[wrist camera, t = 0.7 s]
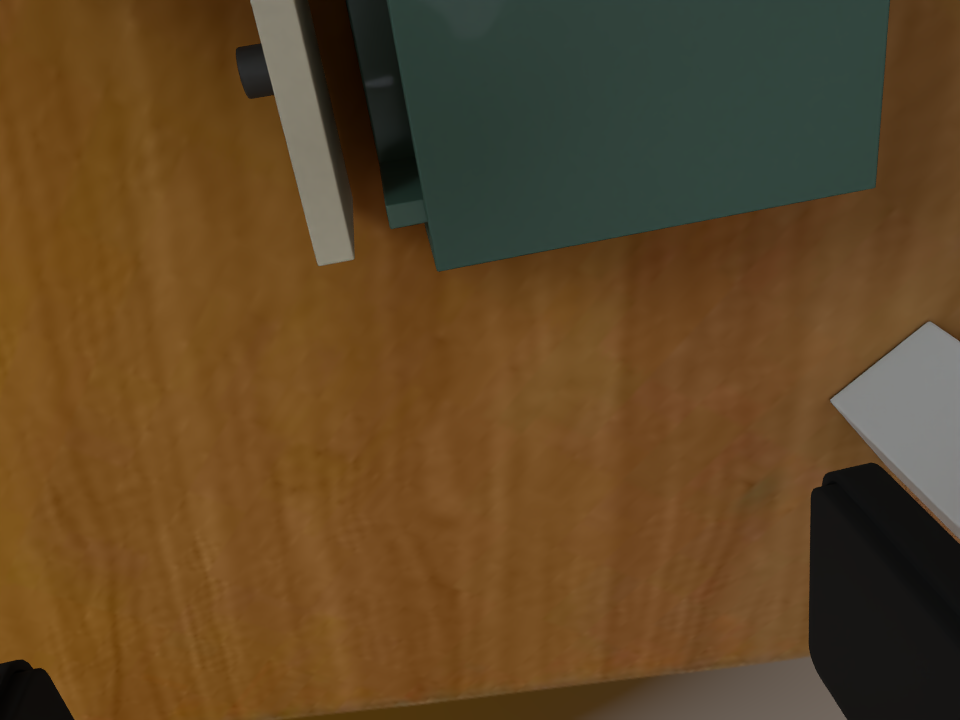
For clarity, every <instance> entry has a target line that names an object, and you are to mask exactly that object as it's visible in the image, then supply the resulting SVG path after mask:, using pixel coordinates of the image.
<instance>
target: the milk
mask: <svg viewBox="0 0 960 720" xmlns="http://www.w3.org/2000/svg"><path fill="white" fill-rule="evenodd" d="M830 401H831V403H832V404H833V405H834V406H835V407H836V409H837V410H838V411H839V412H840V413H841V414H842V416H843V417H844V418H845V419H846V420H847V421H848V422H849V424H850V425H851V426H852V427H853V428H854V429H855V430H856V432H857V433H858V434H859V435H860V436H861V437H862V438H863V440H864V441H865V442H866V443H867V444H868V445H869V446H870V448H871V449H872V450H873V451H874V452H875V453H876V454H877V456H878V457H879V458H880V459H881V460H882V461H883V462H884V464H885V465H886V466H887V467H888V468H889V469H890V470H891V471H892V472H893V473H894V474H895V475H896V476H897V477H898V478H899V479H900V480H901V481H902V482H903V483H904V484H905V485H906V486H907V487H908V488H909V489H910V490H911V491H912V492H913V493H914V494H915V495H916V496H917V497H918V498H919V499H920V500H921V501H922V502H923V503H924V504H925V505H926V506H927V507H928V508H929V509H930V510H931V511H932V512H933V513H934V514H935V515H936V516H937V517H938V518H939V519H940V520H941V521H942V522H943V523H944V524H945V525H946V526H947V527H948V528H949V529H950V530H951V531H952V532H953V533H954V534H955V535H956V536H957V537H958V538H959V539H960V341H958V340H957V339H956V338H954V337H953V336H951V335H950V334H948V333H947V332H945V331H944V330H942V329H941V328H939V327H938V326H936V325H935V324H933V323H932V322H927V323H926V324H924V325H923V326H922V327H921V328H919V329H918V330H917V331H916V332H914V333H913V334H912V335H911V336H909V337H908V338H907V339H906V340H904V341H903V342H902V343H900V344H899V345H898V346H897V347H895V348H894V349H893V350H892V351H890V352H889V353H888V354H887V355H885V356H884V357H883V358H882V359H880V360H879V361H878V362H877V363H875V364H874V365H873V366H872V367H870V368H869V369H868V370H867V371H865V372H864V373H863V374H862V375H860V376H859V377H858V378H857V379H855V380H854V381H853V382H852V383H850V384H849V385H848V386H847V387H845V388H844V389H843V390H842V391H840V392H839V393H838V394H837V395H835V396H834V397H833V398H832V399H831V400H830Z"/></svg>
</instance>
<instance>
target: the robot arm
mask: <svg viewBox="0 0 960 720" xmlns="http://www.w3.org/2000/svg"><path fill="white" fill-rule="evenodd" d="M809 650H810V655H811V658H812V661H813V664H814V666H815V669H816V671H817V673H818V674H819V676H820V678H821V679H822V681H823V683H824V684H825V686H826V687H827V689H828V690H829V692H830V693H831V695H832V696H833V698H834V699H835V701H836V703H837V704H838V706H839V707H840V709H841V711H842V712H843V714H844V715H845V717H846V718H847V720H960V544H959V543H958V542H957V541H956V540H955V539H954V538H953V537H952V536H951V535H950V534H949V533H948V532H947V531H946V530H945V529H944V528H943V527H942V526H941V525H940V524H939V523H938V522H937V521H936V520H935V519H934V518H933V517H932V516H930V515H929V514H928V513H927V512H926V511H925V510H924V509H923V508H922V507H921V506H920V505H919V504H918V503H917V502H916V501H915V500H914V499H913V498H912V497H911V496H910V495H909V494H908V493H907V492H906V491H905V490H904V489H903V488H902V487H901V486H900V485H899V484H898V483H897V482H896V481H895V480H894V479H893V478H892V477H891V476H890V475H889V474H888V473H887V472H886V471H885V470H884V469H883V468H882V467H880V466H879V465H878V464H875V463H867V464H863V465H859V466H854V467H850V468H846V469H841V470H837V471H833V472H829V473H827V474H825V476H824V478H823V482H822V487H817V488H815V489H813V491H812V493H811V522H810V591H809ZM0 720H74V718H73V716H72V715H71V713H70V711H69V709H68V708H67V706H66V704H65V702H64V701H63V699H62V697H61V696H60V694H59V692H58V690H57V689H56V687H55V685H54V683H53V682H52V680H51V678H50V676H49V675H48V673H47V672H46V671H45V670H43V669H42V668H36V669H33V668H32V667H31V665H30V664H29V663H28V662H26V661H24V660H15V661H10V662H6V663H2V664H0Z"/></svg>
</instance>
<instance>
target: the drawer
mask: <svg viewBox="0 0 960 720" xmlns="http://www.w3.org/2000/svg"><path fill="white" fill-rule="evenodd" d="M250 1H251V5H252V9H253V13H254V17H255V21H256V25H257V29H258V33H259V37H260V40H261V43H260V44H255V45H249V46H243V47H238V48H237V49H236V60H237V66H238V71H239V75H240V79H241V82H242V85H243V88H244V91H245V93H246V95H247V96H248V98H250V99H253V98H259V97H265V96H270V95H275V99H276V103H277V107H278V111H279V115H280V119H281V123H282V127H283V131H284V135H285V139H286V143H287V146H288V150H289V154H290V158H291V162H292V166H293V170H294V174H295V178H296V182H297V186H298V190H299V194H300V198H301V201H302V205H303V209H304V213H305V217H306V221H307V225H308V229H309V233H310V237H311V241H312V245H313V249H314V252H315V256H316V260H317V264H318V266H322V265H328V264H333V263H338V262H343V261H349V260H353V259H354V258H355V256H354V226H353V198H352V193H351V189H350V184H349V180H348V176H347V171H346V167H345V162H344V158H343V153H342V149H341V144H340V140H339V135H338V131H337V127H336V122H335V118H334V113H333V109H332V104H331V100H330V95H329V91H328V87H327V82H326V78H325V73H324V69H323V64H322V60H321V55H320V51H319V46H318V42H317V38H316V33H315V29H314V24H313V20H312V15H311V11H310V6H309V2H308V0H250ZM346 4H347V9H348V14H349V19H350V24H351V29H352V33H353V38H354V43H355V48H356V53H357V58H358V63H359V68H360V72H361V77H362V82H363V87H364V92H365V97H366V102H367V107H368V111H369V116H370V121H371V126H372V131H373V136H374V141H375V146H376V150H377V155H378V160H379V166H380V172H381V179H382V186H383V192H384V199H385V206H386V211H387V216H388V221H389V226H390V228H391V229H395V228H400V227H405V226H410V225H416V224H421V223H426V222H427V217H426V212H425V207H424V201H423V196H422V190H421V185H420V179H419V174H418V169H417V163H416V158H415V152H414V147H413V141H412V136H411V131H410V125H409V120H408V114H407V109H406V103H405V98H404V92H403V87H402V82H401V76H400V71H399V65H398V60H397V54H396V49H395V44H394V38H393V33H392V27H391V22H390V16H389V11H388V6H387V0H346Z"/></svg>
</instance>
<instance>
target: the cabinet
mask: <svg viewBox="0 0 960 720" xmlns="http://www.w3.org/2000/svg"><path fill="white" fill-rule="evenodd" d="M387 6H388V11H389V16H390V22H391V27H392V33H393V38H394V44H395V49H396V54H397V60H398V65H399V71H400V76H401V82H402V87H403V92H404V98H405V103H406V109H407V114H408V120H409V125H410V131H411V136H412V141H413V147H414V152H415V158H416V163H417V169H418V174H419V179H420V185H421V190H422V196H423V201H424V207H425V212H426V217H427V222H426V223H424V224H425V228H426V231H427V235H428V239H429V243H430V246H431V250H432V254H433V257H434V261H435V265H436V269H437V271H444V270H449V269H454V268H460V267H465V266H470V265H475V264H481V263H486V262H491V261H496V260H501V259H507V258H512V257H517V256H522V255H527V254H533V253H538V252H543V251H548V250H554V249H559V248H564V247H569V246H574V245H580V244H585V243H590V242H595V241H601V240H606V239H611V238H616V237H621V236H627V235H632V234H637V233H642V232H647V231H653V230H658V229H663V228H668V227H674V226H679V225H684V224H689V223H694V222H700V221H705V220H710V219H715V218H720V217H726V216H731V215H736V214H741V213H747V212H752V211H757V210H762V209H767V208H773V207H778V206H783V205H788V204H794V203H799V202H804V201H809V200H814V199H820V198H825V197H830V196H835V195H840V194H846V193H851V192H856V191H861V190H867V189H872V188H875V186H876V174H877V161H878V148H879V135H880V122H881V109H882V96H883V84H884V71H885V58H886V45H887V32H888V19H889V6H890V0H387Z"/></svg>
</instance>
